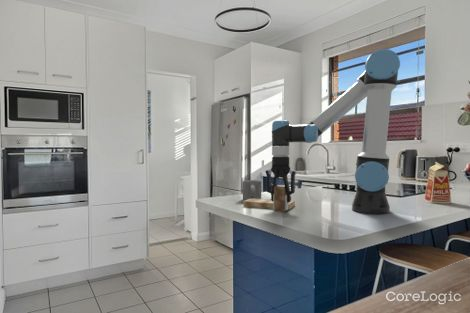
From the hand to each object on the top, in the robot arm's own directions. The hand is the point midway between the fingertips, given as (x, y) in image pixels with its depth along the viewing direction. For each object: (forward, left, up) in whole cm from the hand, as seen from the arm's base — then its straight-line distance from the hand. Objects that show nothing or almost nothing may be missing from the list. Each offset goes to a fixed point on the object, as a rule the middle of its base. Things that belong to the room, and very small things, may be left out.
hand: (280, 209), depth 142 cm
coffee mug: (+22, -21, -1) cm, 30 cm away
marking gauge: (0, -6, -1) cm, 6 cm away
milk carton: (-66, -51, -1) cm, 83 cm away
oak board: (+8, -8, -1) cm, 11 cm away
